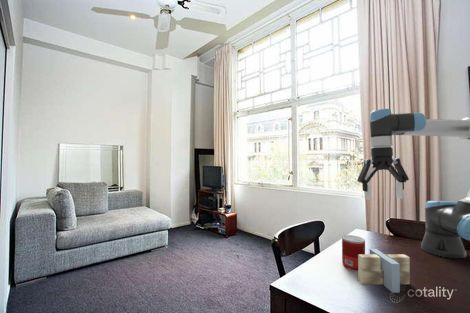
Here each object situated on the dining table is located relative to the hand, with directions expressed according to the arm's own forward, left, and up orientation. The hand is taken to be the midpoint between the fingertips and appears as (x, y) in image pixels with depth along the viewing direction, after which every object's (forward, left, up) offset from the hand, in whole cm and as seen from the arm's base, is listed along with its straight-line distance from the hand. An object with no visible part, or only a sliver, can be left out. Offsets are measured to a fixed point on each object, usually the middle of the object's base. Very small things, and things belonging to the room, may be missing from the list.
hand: (383, 198), depth 94 cm
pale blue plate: (+10, +16, -26) cm, 32 cm away
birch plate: (+11, +16, -26) cm, 32 cm away
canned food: (+15, +4, -26) cm, 30 cm away
